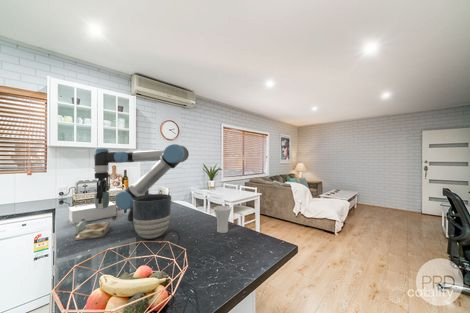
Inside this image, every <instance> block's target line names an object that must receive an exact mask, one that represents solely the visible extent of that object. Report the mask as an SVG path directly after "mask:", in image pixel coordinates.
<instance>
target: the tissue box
mask: <svg viewBox="0 0 470 313" xmlns="http://www.w3.org/2000/svg"><path fill="white" fill-rule="evenodd" d="M115 216H117V205H116V203H114V202H112V201H109V205H108V207H107V208H104V209H97V208H96V207H95V202H94V203H85V204H77V205H73V206H69V209H68V217H69V218H68V220H69V221H70V223H71V225H74V224H75V225H76V224H79V223H80V222H81V219H82V218H85V222H90V221H96V220H100V219H105V218H106V219H107V218H110V217H112V218H113V217H115Z"/></svg>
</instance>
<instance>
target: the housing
mask: <svg viewBox="0 0 470 313" xmlns="http://www.w3.org/2000/svg"><path fill="white" fill-rule="evenodd" d="M110 225H111V224H110V221H107V222H98V223H89V224H87V225H86V226H87V228H84V229H83V230H82V231H81V232H79V233H78V234H76V236H75V237H74V241H77V240H85V239H93V238H100V237H101V238H102V237H105V236H106V234H107V232H108V231H109V229H110V228H111V227H110Z"/></svg>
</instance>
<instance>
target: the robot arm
mask: <svg viewBox="0 0 470 313" xmlns="http://www.w3.org/2000/svg"><path fill="white" fill-rule="evenodd" d="M189 153H190V152H189V149H188V148H187V147H186V146H184V145H179V144H175V143H174V144H169V145H167V146H166V147H165V148H164V149H158V150H157V149H156V150H140V151H139V150H138V151H123V150H117V151H116V150H115V151H114V150H113V151H111V150H110V151H109V149H108V148H98V147H97V148H95V149H94V153H93V158H94V159H93V160H94V167H93V169H94V179H98V181H96V193H97V197H96V199H98V209H103V197H102V196H103V192H108V191H107V179H108V178H109V175H110V174H109V169H110V168H109V164H110V163H111V164H115V163H116V164H117V163H118V164H122V163H139V162H141V163H142V162H156V163H154V165H153V166H151V167H150V169H148V171H146V172H145V173H144V174H143V176H141V177H140V178H139V179H138V180H137V181H136V182H135V183H134V184H133V183H132V184H129V186H127V187H126V188H125V189H124V190H121V191H119V192H118V193H117V194H116V196H115V199H114V202H115V203H114V204H116V207H118V208H119V209H121V210H125V211H126V210H129V211H128V214H127V221H129V222H130V221H131V222H134V221H133V205H132V199H133V198H135V197H138V196H143V195H150V193H149V192H150V191H149V189H150V188H152V187H153V185H155V184H156V183H157V182H158V181H159V180H160V179H161V178H162V177H163V176H164V175H165V174H166V173H167V172H169V170H170V169H175V168H176V167H177V166H178V165H179V164H180V163H184V162H185V161H187V160H188V158H189V156H190V155H189Z"/></svg>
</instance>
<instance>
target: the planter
mask: <svg viewBox="0 0 470 313" xmlns="http://www.w3.org/2000/svg"><path fill="white" fill-rule="evenodd" d="M132 205H133V221H132V222H133V227H134V230H135V232H136V233H137V235H138V236H139V237H141V238H142V239H147V240H149V239H150V240H152V239H156V238H159V237H160V236H162V235H163V234H164V233H165V232H166V231H167V229H168V228H169V226H170V222H171V208H172V195H170V194H168V193H166V194H164V193H154V194H153V193H151V194H148V195H143V196H138V197H135V198H133V199H132Z"/></svg>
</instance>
